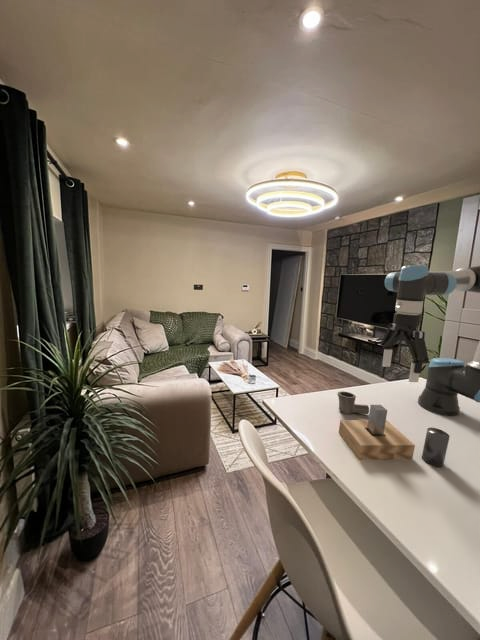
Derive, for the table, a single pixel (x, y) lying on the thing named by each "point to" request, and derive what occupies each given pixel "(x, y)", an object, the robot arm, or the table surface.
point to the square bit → (377, 420)
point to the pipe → (350, 404)
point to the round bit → (435, 447)
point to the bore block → (375, 441)
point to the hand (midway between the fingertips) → (398, 373)
